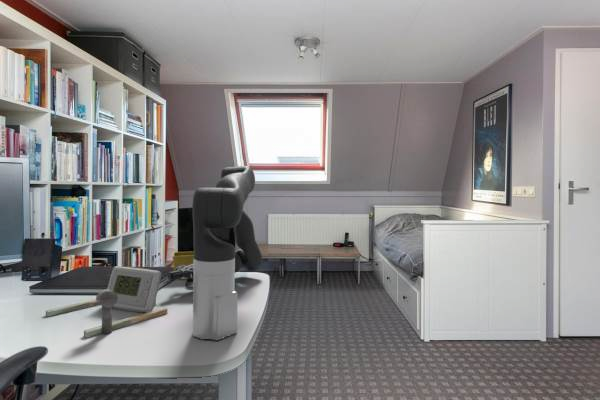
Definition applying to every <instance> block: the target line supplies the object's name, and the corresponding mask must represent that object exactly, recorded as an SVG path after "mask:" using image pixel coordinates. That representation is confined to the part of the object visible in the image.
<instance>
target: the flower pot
mask: <svg viewBox="0 0 600 400" xmlns="http://www.w3.org/2000/svg"><path fill="white" fill-rule="evenodd" d="M191 264H194V251H174V252H172V265H173V267H172V268H173V271H176V268H177V267H179V266H180V265H184V266H189V265H191ZM177 280H179V281H181V280H182V279H181V278H180V279H177ZM183 280H188V279H187V278H184V279H183Z"/></svg>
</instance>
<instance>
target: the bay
mask: <svg viewBox="0 0 600 400" xmlns="http://www.w3.org/2000/svg"><path fill="white" fill-rule="evenodd" d="M117 299H118V296H117V294H116V293H115V292H113V291H110V290H107V288H106V289H103V290H100V291H99V292H98V293H97V295H96V299H91V300H87V301H83V302H77V303H74V304H70V305H69V304H68V305H65V306H60V307H55V308H52V309H48V310H45V316H46V317H48V318H49V317H52V316H57V315H60V314H61V315H62V314H65V313H68V312H74V311H78V310H81V309H85V308H90V307H94V306H98V305H99V306H101V325H99V326H95V327H92V328H89V329H84V330H83V337H84V338H87V339H88V338H90V337H94V336H97V335H100V334H102V335H109V334H112V332H113V330H117V329H120V328H124V327H127V326H130V325H133V324H137V323H140V322H144V321H146V320H151V319H154V318H156V317H160V316H163V315H165V314H167V315H168V311H169V310H168V307H167V308H166V307H161V308H157V309H155V310H154V309H153V310H152V311H150V312H142V313H141V314H137V315H133V316H131V317H127V318H123V319H119V320H116V321H113V307H112V306H114V305H115V304H116V302H117Z"/></svg>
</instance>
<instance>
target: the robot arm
mask: <svg viewBox="0 0 600 400" xmlns="http://www.w3.org/2000/svg"><path fill="white" fill-rule="evenodd" d="M255 185H256V177H255V173H254V170H253V169H252V168H251V167H250V166H248V165H238V166H228V167H224V168H222V170H221V173H220V180H219V181H218V182H216V185H215V187H198V188H197V189H196V190H195V191H194V194H193V196H192V206H191V208H192V228H193V233H192V235H193V244H192V245H193V252H194V264H191V265H189V266H184V265H180V266H179V267H177V268H176V271H174V270H172V271H168V272H167V280H169V281H174V280H178V279H180V278H181V280H185V279H184V278H187V279H186V280H193V281H192V282H193V283H192V285H193V286H192V287H193V288H192V336H193V337H195V338H196V337H197V339H199V338H200V340H204V339H214V340H213V341H215V340H219V339H221V338H223V337H226V336H228V335H230V336H232V335H231V334H233V333H235V334H237V333H238V296H239V295H238V292H237V291H236V290H235V274H236V273H238V272H239V271H240V270H241V269H244V270H247V271H249V272H256V271H259V270H260V268H261V267H262V263H263V255H262V252H261V250H260V248H259V245H258V243H257V241H256V237H255V236H256V235H255V229H254V223H253V222H252V220H251V218H250V217H249V215H248V214H247V213H246V212H245V211H244V205H245V203H246V202H247V199H248V197H249V194H251V193H252V192H253V191H254V189H255ZM232 228H233V233H234V239H235V244H236V246H237V248H239V249H236V248H235V246H234V244H232V243H229V242H227V241H224V240H222V239H220V238H218V237H216V236H215V235H214V234H212V232H211V230H210V229H232ZM236 332H237V333H236ZM233 335H234V334H233ZM228 337H229V336H228ZM226 338H227V337H226ZM223 339H224V338H223ZM221 340H222V339H221ZM219 341H220V340H219Z"/></svg>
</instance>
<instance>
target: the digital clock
mask: <svg viewBox="0 0 600 400" xmlns="http://www.w3.org/2000/svg"><path fill="white" fill-rule="evenodd" d="M161 279H162V272H161V271H159V270H154V269H149V268H144V267H143V268H141V267H133V266H119V265H116V266H114V267H113V268H112V271H111V274H110V278H109V280H108V284H107V285H108V286H107V288H106V289H107V290H110V291H113V292H115V293H116V294H117V296H118V299H117V302H116V304H115V305H114V306H112V308H113V309H115V310H116V309H117V310H124V311H129V312H136V313H147V312H150V311H154V307H155V306H156V305H157V295H158V292H159V287H160V283H161Z"/></svg>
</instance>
